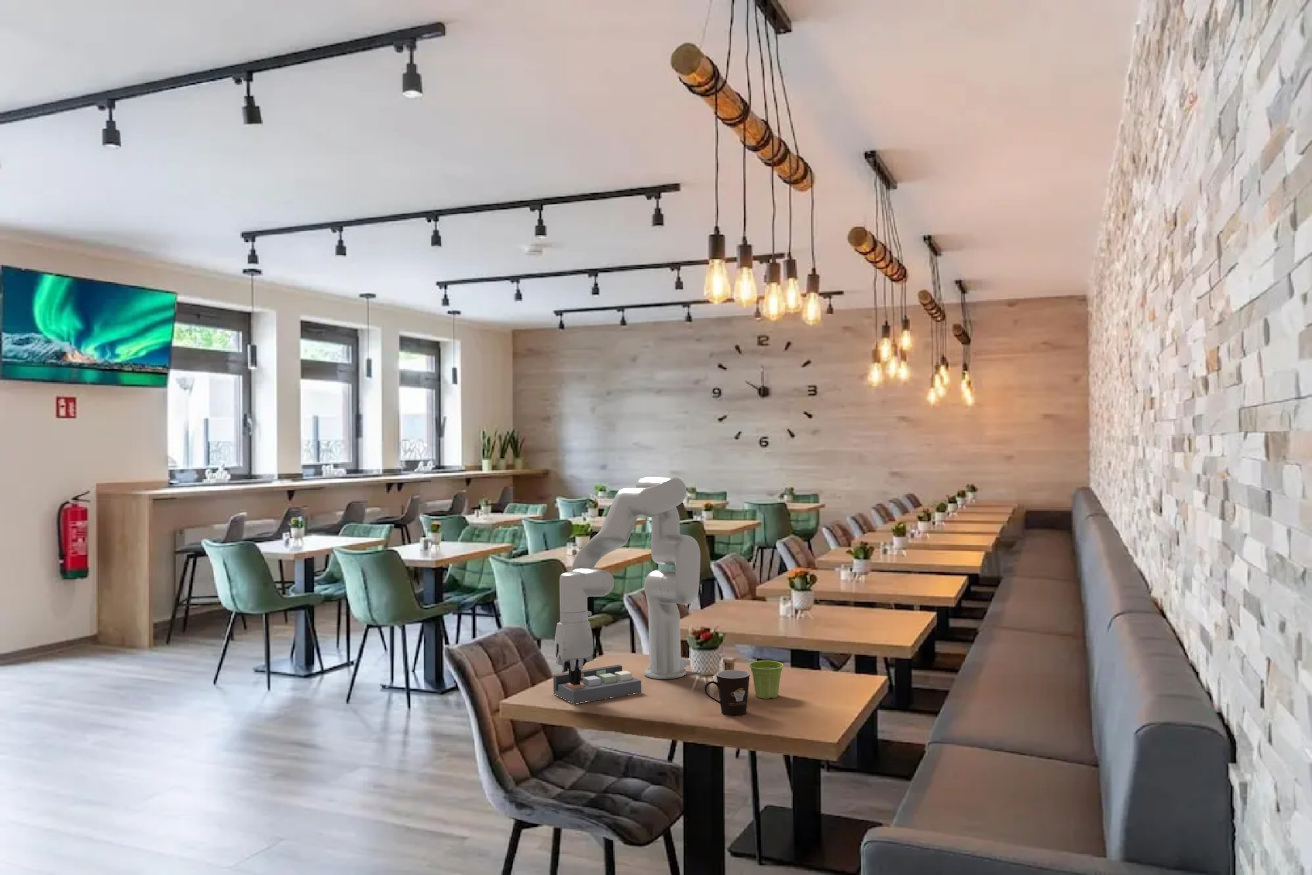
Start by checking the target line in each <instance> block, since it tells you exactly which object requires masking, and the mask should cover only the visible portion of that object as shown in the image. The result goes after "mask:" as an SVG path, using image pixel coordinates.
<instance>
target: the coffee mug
mask: <svg viewBox="0 0 1312 875" xmlns="http://www.w3.org/2000/svg"><path fill="white" fill-rule="evenodd" d="M750 676H751V674H750V672H748V671H745V670H742V669H741V670H739V669H727V670H722V671H718V672H716V681H714V680H710V681H708V682H706V683H705V686H704V693H705V695H706V696H707V697H708V698H710V699H711V700H712V701H713V702H716V703H718V704H719V705H720V710H721V714H722V715H723V716H727V717H742V716H745V715H746V714H747V709H748V700H749V689H750V688H749V687H750ZM711 684H714V685H716V687H717V689H718V696H719V697H718V698H719V700H718V699H716V698H714V696H711V695H710V694H709V693H708V691H707V689H708V686H709V685H711Z"/></svg>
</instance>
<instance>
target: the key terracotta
mask: <svg viewBox="0 0 1312 875" xmlns="http://www.w3.org/2000/svg"><path fill="white" fill-rule="evenodd" d="M567 687H568V688H570V689H576V688H582V687H584V684H583V683H581V682H580V685H578V684H577V685H573V684H571V683H567Z"/></svg>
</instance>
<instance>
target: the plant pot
mask: <svg viewBox="0 0 1312 875" xmlns="http://www.w3.org/2000/svg"><path fill="white" fill-rule="evenodd" d="M748 666H749V667H750V671H751V672H752V679H753V686H754V693H755V696H756V697H757V698H760V699H765V700H767V699H771V698H772V699H775V698H778V697H779V692H780V691H779V689H780V682H781V681H780V680H781V675H782V674H781V673H782V671H783V668H784V667H785V666H784V664H783V662H779V661H776V660H775V661H774V660H757V661H755V660H754V661H752V662H750V663H749V664H748Z"/></svg>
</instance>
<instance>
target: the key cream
mask: <svg viewBox="0 0 1312 875" xmlns="http://www.w3.org/2000/svg"><path fill="white" fill-rule="evenodd" d="M614 673H615V675H616V680H619V681H624V680H630V679H632V677H633V675H632V674H633V673H632V672H630V671H628V670H622V671H620V672H614Z"/></svg>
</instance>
